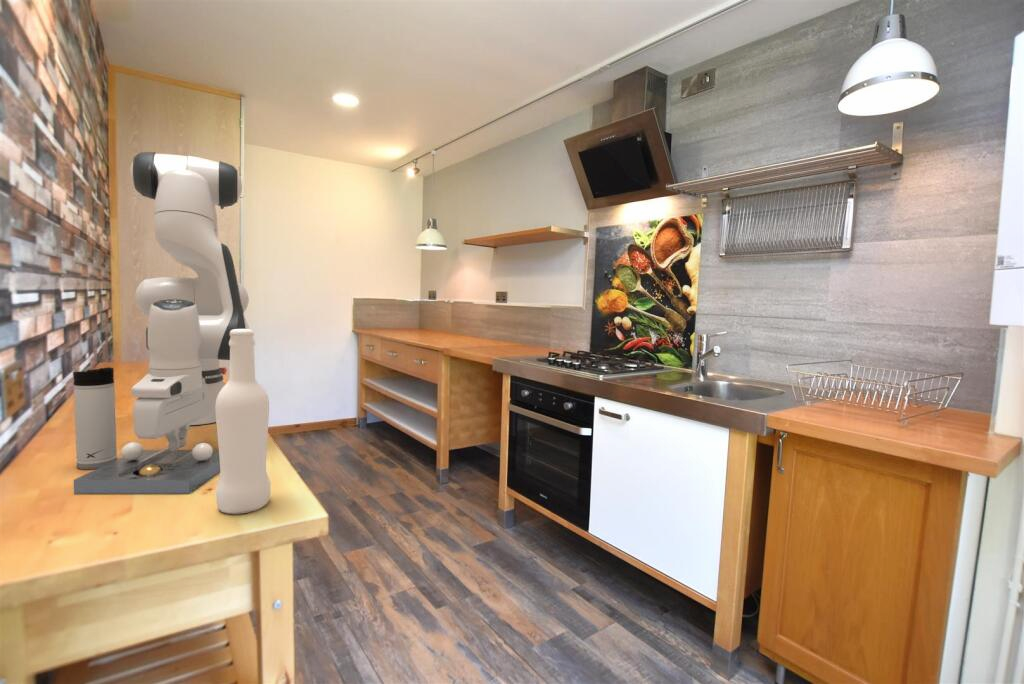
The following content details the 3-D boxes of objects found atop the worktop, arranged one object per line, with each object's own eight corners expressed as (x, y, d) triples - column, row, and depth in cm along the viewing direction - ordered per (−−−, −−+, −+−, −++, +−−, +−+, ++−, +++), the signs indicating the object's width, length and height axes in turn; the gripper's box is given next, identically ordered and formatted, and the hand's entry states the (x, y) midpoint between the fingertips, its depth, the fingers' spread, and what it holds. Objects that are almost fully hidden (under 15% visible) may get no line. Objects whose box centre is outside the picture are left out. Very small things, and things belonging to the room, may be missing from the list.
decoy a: (198, 457, 99) (197, 440, 99) (216, 457, 100) (216, 440, 99) (188, 463, 96) (187, 445, 96) (207, 463, 96) (206, 445, 96)
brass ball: (144, 483, 93) (147, 464, 94) (164, 483, 93) (167, 464, 94) (132, 484, 90) (135, 464, 90) (152, 484, 90) (156, 464, 91)
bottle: (247, 492, 89) (245, 326, 87) (281, 501, 86) (280, 329, 84) (204, 510, 82) (201, 328, 79) (240, 519, 79) (238, 331, 76)
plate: (138, 461, 103) (138, 446, 103) (234, 462, 105) (233, 446, 104) (74, 493, 86) (73, 475, 86) (189, 493, 88) (188, 475, 88)
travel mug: (95, 471, 97) (91, 370, 95) (68, 468, 98) (64, 368, 96) (126, 461, 103) (123, 366, 101) (100, 458, 104) (96, 364, 102)
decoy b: (129, 457, 98) (128, 439, 98) (147, 457, 99) (147, 440, 98) (116, 463, 95) (116, 445, 94) (136, 463, 95) (135, 445, 95)
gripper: (188, 372, 109) (189, 433, 111) (124, 390, 89) (127, 464, 90) (218, 372, 110) (219, 433, 111) (161, 390, 90) (163, 465, 91)
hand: (177, 447), depth 101 cm, fingers closed
